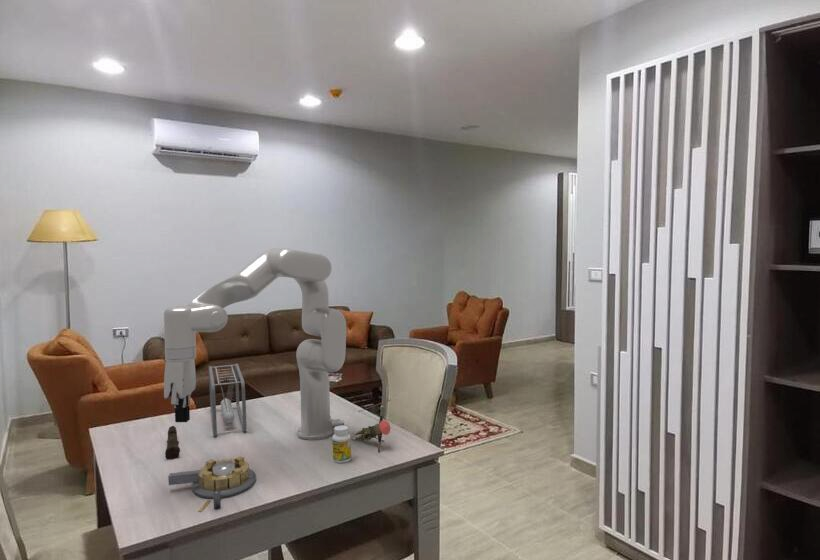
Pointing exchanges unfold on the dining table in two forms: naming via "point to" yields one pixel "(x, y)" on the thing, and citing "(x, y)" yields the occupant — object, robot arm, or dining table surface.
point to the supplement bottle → (341, 444)
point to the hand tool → (172, 444)
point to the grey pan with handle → (209, 480)
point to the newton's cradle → (226, 403)
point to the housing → (217, 495)
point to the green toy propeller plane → (375, 429)
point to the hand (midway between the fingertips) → (182, 421)
